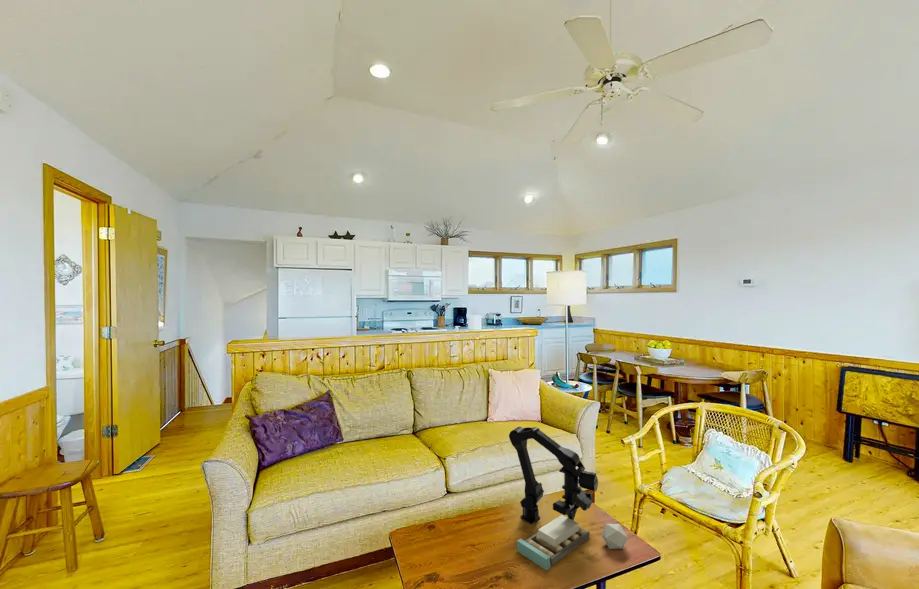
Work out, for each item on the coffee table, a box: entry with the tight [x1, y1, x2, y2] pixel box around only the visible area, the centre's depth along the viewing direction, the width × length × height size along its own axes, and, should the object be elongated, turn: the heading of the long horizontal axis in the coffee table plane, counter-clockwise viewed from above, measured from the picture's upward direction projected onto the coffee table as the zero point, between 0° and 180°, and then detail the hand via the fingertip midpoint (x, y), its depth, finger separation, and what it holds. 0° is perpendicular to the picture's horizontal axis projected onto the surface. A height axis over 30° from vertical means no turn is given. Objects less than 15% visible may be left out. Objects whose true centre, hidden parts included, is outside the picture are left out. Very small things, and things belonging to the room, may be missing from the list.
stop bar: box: [516, 538, 551, 572], centre depth 143 cm, size 14×2×4 cm, turn 40°
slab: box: [537, 514, 580, 547], centre depth 154 cm, size 8×16×3 cm, turn 130°
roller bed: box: [524, 526, 591, 566], centre depth 153 cm, size 13×25×3 cm, turn 130°
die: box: [600, 523, 629, 550], centre depth 151 cm, size 8×9×10 cm
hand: (571, 521), depth 160 cm, fingers closed
